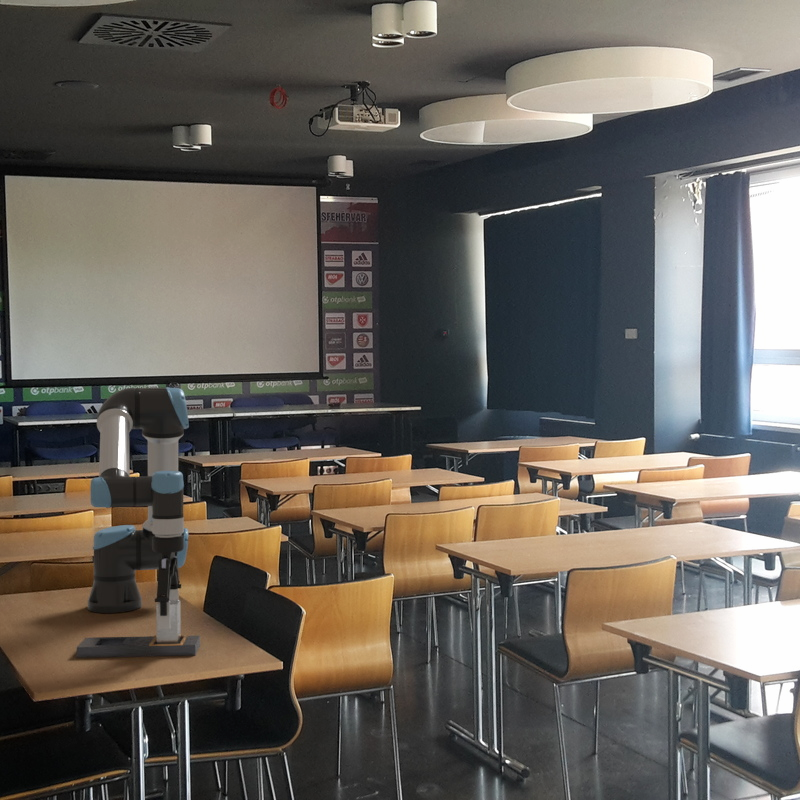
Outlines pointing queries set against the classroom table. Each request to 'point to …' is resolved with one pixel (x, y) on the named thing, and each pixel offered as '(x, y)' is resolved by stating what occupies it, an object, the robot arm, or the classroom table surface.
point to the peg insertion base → (136, 647)
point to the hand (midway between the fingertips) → (168, 622)
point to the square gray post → (175, 625)
